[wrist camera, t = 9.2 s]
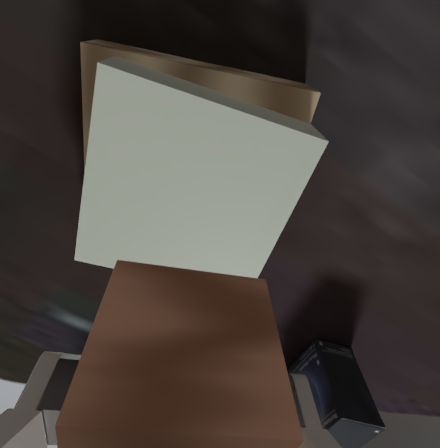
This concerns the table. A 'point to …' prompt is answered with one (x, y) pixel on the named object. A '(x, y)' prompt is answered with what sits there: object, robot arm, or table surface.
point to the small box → (339, 393)
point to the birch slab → (199, 81)
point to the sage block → (187, 174)
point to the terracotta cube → (181, 366)
